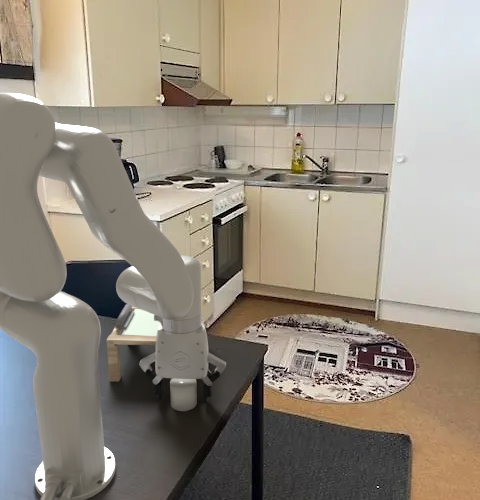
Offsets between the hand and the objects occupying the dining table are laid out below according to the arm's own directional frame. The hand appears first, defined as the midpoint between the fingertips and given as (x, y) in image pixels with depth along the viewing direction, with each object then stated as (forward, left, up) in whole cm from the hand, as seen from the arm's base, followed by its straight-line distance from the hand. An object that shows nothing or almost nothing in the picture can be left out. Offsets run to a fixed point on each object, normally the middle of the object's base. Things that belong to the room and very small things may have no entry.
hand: (183, 398), depth 100 cm
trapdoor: (+16, +9, +8) cm, 20 cm away
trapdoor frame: (+16, +8, -1) cm, 18 cm away
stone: (0, 0, -1) cm, 1 cm away
